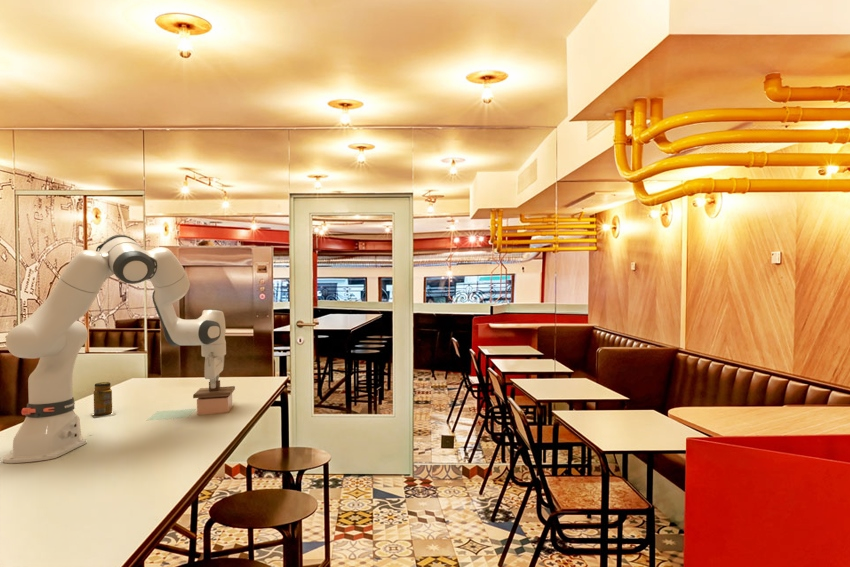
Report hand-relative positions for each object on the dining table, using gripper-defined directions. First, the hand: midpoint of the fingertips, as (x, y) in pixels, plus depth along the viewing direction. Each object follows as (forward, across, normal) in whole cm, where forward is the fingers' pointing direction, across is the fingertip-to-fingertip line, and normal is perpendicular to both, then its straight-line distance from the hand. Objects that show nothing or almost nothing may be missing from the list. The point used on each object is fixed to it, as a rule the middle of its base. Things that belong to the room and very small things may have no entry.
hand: (214, 386), depth 204 cm
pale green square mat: (+10, -2, +15) cm, 18 cm away
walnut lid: (+3, 0, 0) cm, 3 cm away
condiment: (+10, +8, +42) cm, 44 cm away
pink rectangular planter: (+10, 0, 0) cm, 10 cm away
